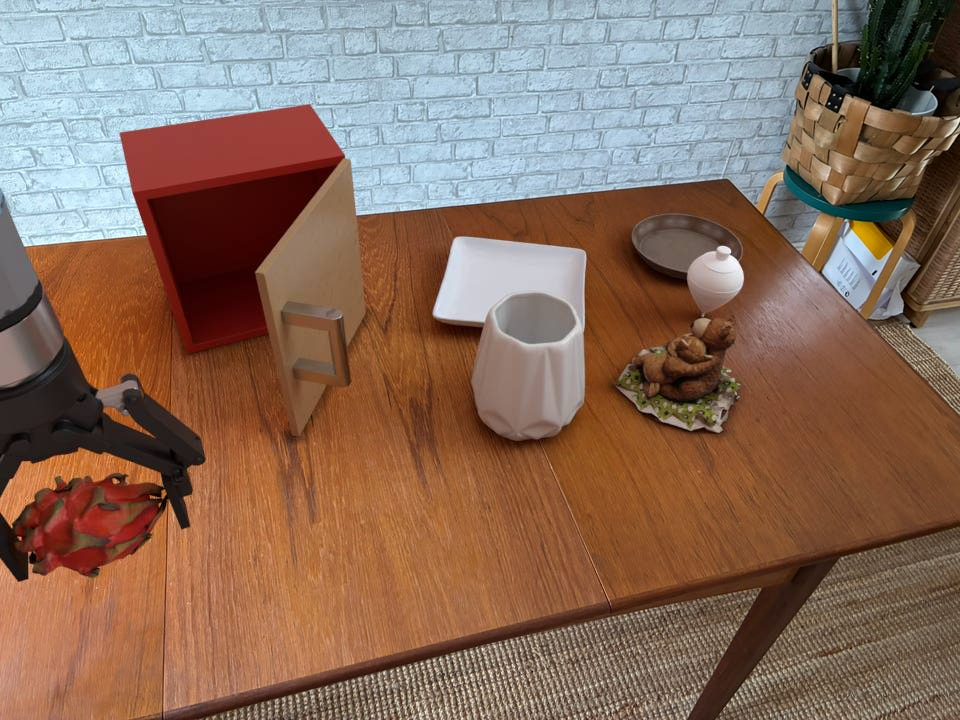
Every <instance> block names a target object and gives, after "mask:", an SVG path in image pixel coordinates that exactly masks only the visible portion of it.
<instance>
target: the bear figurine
mask: <svg viewBox="0 0 960 720" xmlns="http://www.w3.org/2000/svg"><path fill="white" fill-rule="evenodd" d="M737 319H738V316H737V315H735V314H733V315H731V316H730V317H729V318H728V319H727V320H726V319H725V318H721V317H719V318H718V317H714V318H712V319H709V318H705V317H700V318H698V319H696V320H694V321H692V322H690V325H689V327H690V331H691V333H685V334H681V335H678V336H677V337H675V338H673V339H672V340H670V341H667V342H666V344H665V345H664V344H663V345H659V346H655V347H650V348H647V349H642V350H641V351H640V352H638V354H637V356H636V357H633V358H632V359H631V363H629V364H627V365H626V367H625V368H624V370H623V371H622V372H621V374H620V376H619V377H618V378H617V379H616V380H614V382H613V386H614V387H615V388H616V389H617V390H619V391H620V392H621V393H622V394H623V395H624V396H626V397H627V399H629V400H630V401H631V402H632V403H634V404H635V406H636V408H637V410H638V411H640V412H641V413H645V414H652V415H654V416H655V417H656V418H657V419H656V421H658V422H661V423H666V424H669V425H673V426H676V427H679V428H682V429H684V430H688V431H690V432H692V431H694V430H698V429H702V428H705V429H706V430H707V431H710V432H713V433H719V434H720V433H721V432H723V431H724V429H723V427H721V425H722V424H723V422H727V421H728V415H729V409H730V407H731V406H732V405H734V404H735V403H736V402H738V400H739V398H740V397H741V394H739V395H738V393H737V391H738V390H739V389H740V388H741V386H742V384H740V383H738V382H736V378H735V377H732V376H729V375H728V374H729V373H733V372H734V371H733V370H732V369H730V368H728V367H727V366H725V365H724V360H725V356H726V352H727V350H728V349H729V348H731V347H732V345H734V344H735V342H736V338H737V337H736V336H737V333H736V330H735V327H734V326H735V325H736V322H737ZM723 410H726V412H725V413H724V415H722V413H723Z"/></svg>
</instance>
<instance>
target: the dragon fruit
mask: <svg viewBox="0 0 960 720" xmlns="http://www.w3.org/2000/svg"><path fill="white" fill-rule="evenodd" d="M128 477H130V475H129V474H127V473H123V474H122V473H121V472H112V473H110V474H108V475H106V476H105V478H103V479H101V480H98V481H94V480H93V478H92V477H91V476H90V475H86V476H85V477H84V478H81V477H78V476H77V477H73V478H71V479H70V480H69V481H68V482H66V481H65V480H63V478H62V475H56V476H55V477H54V479H53V480H54V482H55V485H56V487H55V489H52V488H51V487H44V488H41V489H40V490H38V491H36V492H35V494H34V496H33V499H34V501H31V502H30V503H28V504H26V505H25V506H24V508H23V509H22V510H21V512H20V514H19V515H18V516H17V518H15V520H14V521H13V522H11V526H12V527H11V528H12V531H13V533H14V535H15V536H17V537H18V538H21V539H19V540H20V541H18V542H14V540H13V539H12V540H13V542H12V544H13V545H14V546H15V548H16V549H17V550H19V551H21V552H28V553H30V554H29V555H28V561H29V565H33V566H32V570H31V573H32V574H35V575H40V576H43V577H45V576H47V575H49V574H50V573H52V572H54V571H55V570H57V568H60V567H62V568H65V569H69V570H71V571H74V572H77V573H78V574H79V575H81V576H83V577H87V578H90V579H94V578H97V577H98V576H99V575H100V571H101V568H100V567H103V566H107V565H109V564H112V563H114V562H116V561H118V560H123V559H125V558H126V557H128V556H129V555H130V556H133V555H134V554H136V553H137V551H138V550H139V549H141V548H142V547H143V546H144V545H145V544H146V543H147V542H148V541H150V540H151V539H152V536H153V533H152V531H153V529H154V528H155V526H156V524H157V522H158V521H159V520H160V518H161V517H162V515H164V513H165V511H166V508H167V506H168V500H169V498H168V496H167V494H165V495H164V497H163V493H162V492H163V491H165V489H164V486H163V485H159V484H158V483H155V482H149V481H148V482H145V481H144V482H141V483H131V484H128V482H126V479H127V478H128ZM113 479H115V480H117V483H114V482H113ZM151 497H152V498H151ZM153 497H155V498H153Z"/></svg>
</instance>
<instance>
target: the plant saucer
mask: <svg viewBox="0 0 960 720" xmlns="http://www.w3.org/2000/svg"><path fill="white" fill-rule="evenodd" d="M631 241H632V245H633V247H634V248H635V251H636V253H637V254H638V255H639V256H640V258H641V259H642V260H643V261H644V262H645V264H647V265H648V266H649V267H650V268H651V269H653V270H655V271H656V272H659V273H661V274H663V275H666V276H668V277H670V278H675V279H679V280H685V281H687V274H688V269H689V267H690V265H691V264H692V263H693V261H694V260H696V259H697V258H698V257H700V256H702V255H704V254H705V253H707V252H712V251H716V250H717V248H718V247H719V246H726V247H728V248H730V249H731V253H730V255H731V256H733V257H734V258H735V259H737V261H738V262H739V263H740V261H741V259H742V257H743V254H744V248H743V245H742V242H741V241H740V239H739V238H738V236H736V235H735V234H734V233H733V232H732V231H731V230H729V229H728V228H726V227H725V226H724V225H721V224H719V223H717V222H715V221H713V220H711V219H707V218H704V217H701V216H696V215H691V214H687V213H686V214H685V213H662V214H657V215H652V216H649V217H647V218H644V219H642V220H641V221H639V222H638V223H637V224H635V226H634V227H633V229H632V231H631Z"/></svg>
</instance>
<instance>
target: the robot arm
mask: <svg viewBox="0 0 960 720" xmlns="http://www.w3.org/2000/svg"><path fill="white" fill-rule="evenodd" d="M107 408H113V409H114V410H116V411H117V412H118V413H120V415H121V416H122V417H129V416H130V418H131V419H132V420H133V421H134V422H135V423H136V424H137V425H138V426H139V427H140V428H141V429H143V430H145V431H146V432H147V433H148V434H147V433H145V432H143V431H140V430H137V429H135V428H133V427H131V426H128V425H125V424H123V423H120V422H118V421H116V420H114V419H112V417H111V416H110V415H109V414H108V413H106V412H104V410H105V409H107ZM79 449H83V450H86V451H88V452H91V453H94V454H97V455H103V454H104V453H106V454H108V455H112V456H114V457H117V458H119V459H122V460H124V461H128V462H130V463H133V464H135V465H138V466H141V467H144V468H146V469H149V470H152V471H154V472H157V473H159V474H160V478H161V483H162V487H164V489H165V490H164V491H165V493H166V494H167V496H168V498H169V499H168V500H169V503H170V505H171V509H172V510H173V513H174V516H175V518H176V520H177V523H178V525H179V527H180V530H181V531H182V530H185V529H189V528H191V523H190V518H189V513H188V509H187V503H186V500H185V497H188V496H191V495H193V491H194V489H193V483H192V479H191V476H190V474H189V471H188V469H189V468H190V467H192V466H193V467H195V466H196V467H198V466H201V465H203V464H205V463H206V461H207V458H206V454H205V450H204V446H203V442H202V438H201V436H200V435H199V434H197V433H196V431H194V430H193V429H191V428H190V427H189V426H187V424H185V423H184V422H183V421H181V420H180V419H179V418H178V417H177V416H175V415H174V414H172V413H171V412H170V411H169V410H168V409H167V408H165V407H164V406H163V405H162V404H160V403H159V402H158V401H156V400H155V399H154V398H153V397H151V395H149V394H147V392H146V391H145V389H144V387H143V384H142V383H141V381H140V379H139V377H138V375H136V374H134V373H125V374H123V375H122V376H121V377H120V384H115V385H113V386H110V387H106V388H103V389H98V388H97V387H95V386H93V385H91V383H90V382H89V381H88V380H87V378H86V375H85V373H84V371H83V369H82V367H81V365H80V363H79V360H78V359H77V357H76V354H75V352H74V350H73V347H72V346H71V343H70V341H69V339H68V338H67V337H66V336H65V331H64V328H63V325H62V324H61V322H60V319H59V317H58V315H57V312H56V310H55V309H54V306H53V304H52V301H51V300H50V298H49V296H48V293H47V291H46V289H45V286H44V285H43V282H42V281H41V279H40V277H39V276H38V274H37V272H36V270H35V268H34V265H33V263H32V261H31V258H30V256H29V253H28V252H27V248H26V247H25V245H24V243H23V240H22V238H21V236H20V233H19V231H18V229H17V227H16V224H15V222H14V219H13V217H12V214H11V212H10V209H9V207H8V204H7V202H6V197H5V193H4V191H3V189H2V187H0V499H1V498H2V496H3V494H4V491H5V490H6V488H7V486H8V485H9V482H11V481H10V480H13V479H14V478H15V476H16V474H17V472H18V470H19V469H20V466H21V464H22V463H23V462H30V464H32V465H34V464H37V463H40V462H41V463H42V462H45V461H47V460H49V459H51V458H53V457H55V456H65V455H71V454H74V453H77V452H79ZM166 494H165V495H166ZM12 539H13V540H14V542H18V541H20V540H21V539H20V537H17V536H15V535H14V533H13V531H12V527H11V525H10V524H9V522H8V521H7V519H6V518H5V517H4V515H3V513H2V512H1V511H0V560H1V561H2V563H3V564H4V565H5V567H6V568H7V570H8V571H9V573H11V575H12V576H13V578H14V579H15V581H17V582H18V583H21V582H24V581H27V580H29V578H30V577H29V576H30V575H29V574H30V573H29V569H30V568H29V565H30V564H29V552H21V551H19V550H17V549H16V548H15V546H14V545H13V544H12V542H13V540H12Z"/></svg>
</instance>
